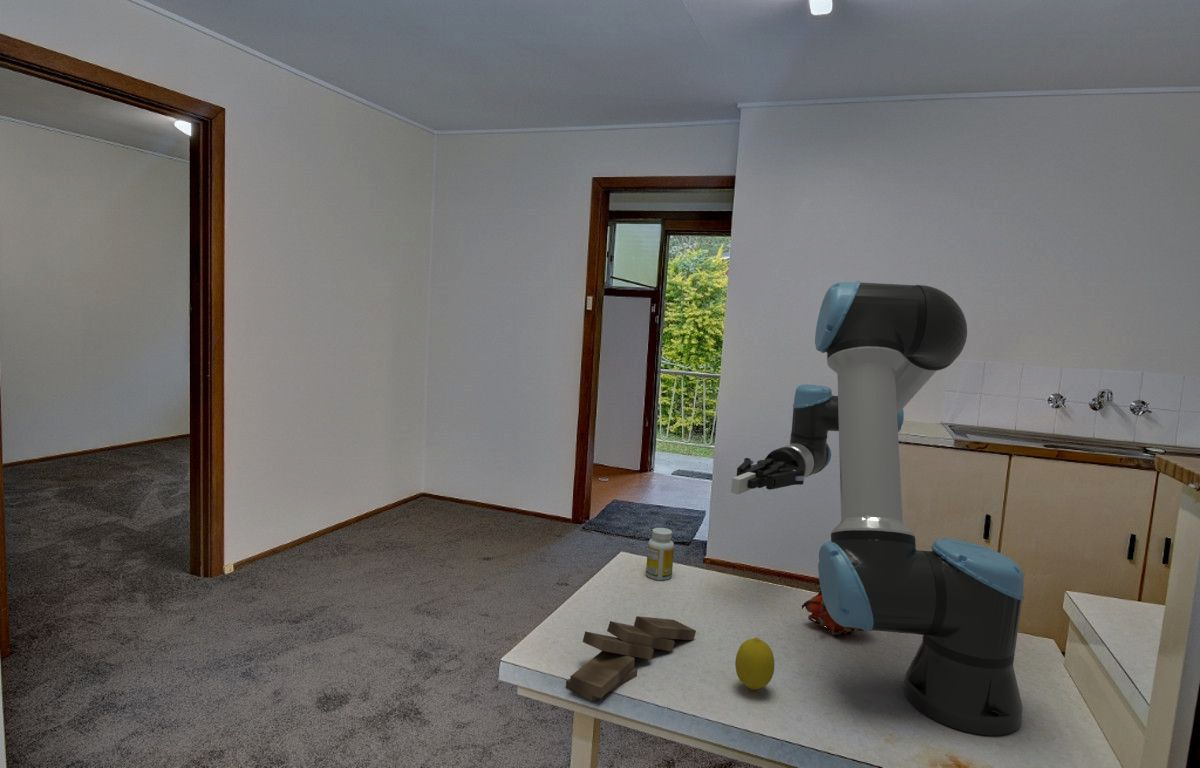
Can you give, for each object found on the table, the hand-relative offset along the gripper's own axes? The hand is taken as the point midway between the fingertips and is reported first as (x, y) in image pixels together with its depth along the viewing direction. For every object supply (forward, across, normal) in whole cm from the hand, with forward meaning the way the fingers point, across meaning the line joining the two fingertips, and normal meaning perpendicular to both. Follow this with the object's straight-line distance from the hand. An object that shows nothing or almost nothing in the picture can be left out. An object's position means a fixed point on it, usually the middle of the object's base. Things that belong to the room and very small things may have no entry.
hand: (735, 486), depth 124 cm
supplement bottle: (-5, +18, -25) cm, 31 cm away
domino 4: (+19, +1, -23) cm, 30 cm away
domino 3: (+30, +1, -23) cm, 37 cm away
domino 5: (+13, +1, -23) cm, 26 cm away
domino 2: (+30, +2, -22) cm, 37 cm away
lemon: (+21, -16, -23) cm, 35 cm away
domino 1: (+24, +1, -22) cm, 33 cm away
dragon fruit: (-7, -18, -24) cm, 31 cm away
